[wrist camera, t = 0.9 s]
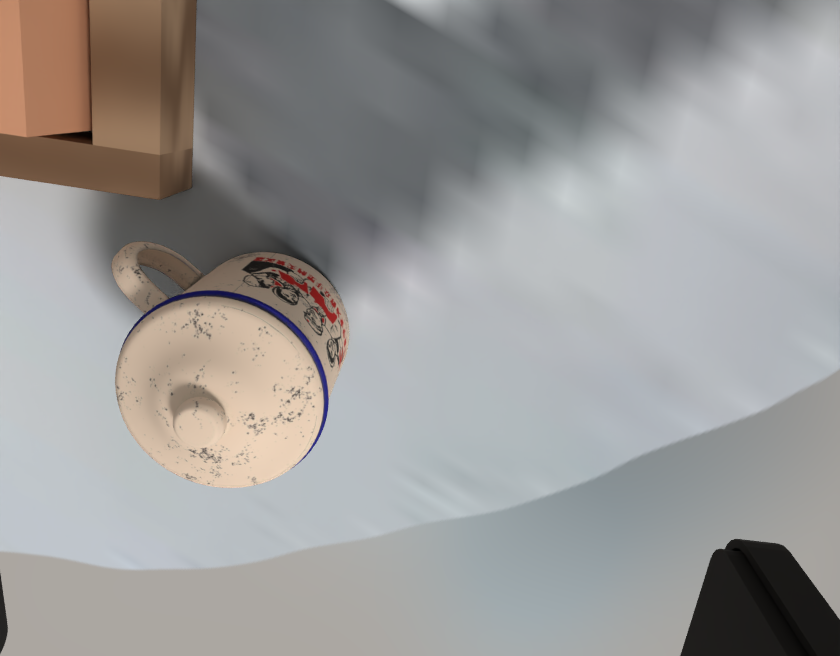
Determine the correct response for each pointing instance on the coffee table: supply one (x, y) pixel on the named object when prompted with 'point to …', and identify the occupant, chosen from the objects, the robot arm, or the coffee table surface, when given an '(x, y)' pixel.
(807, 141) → the coffee table surface
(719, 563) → the robot arm
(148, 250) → the teacup with lid
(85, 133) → the brown slotted base
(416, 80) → the coffee table surface
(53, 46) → the salmon orange block
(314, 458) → the coffee table surface
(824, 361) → the coffee table surface
